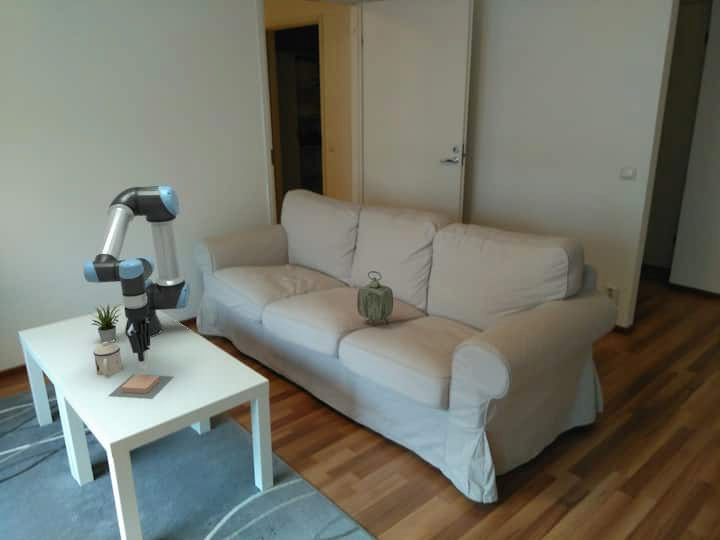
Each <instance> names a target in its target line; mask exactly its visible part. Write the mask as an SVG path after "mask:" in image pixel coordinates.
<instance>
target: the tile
mask: <svg viewBox="0 0 720 540" xmlns="http://www.w3.org/2000/svg"><path fill="white" fill-rule="evenodd" d="M147 375H148V374H135V376H133V377H132V378H131V379H130V380H129V381H128V382H127V383H125V384H124V385H123V386H122V387H121V388H122V392H126V393H143V394H147V393H148V392H149V391H150V390H151V389H152V388H153V387H154V386H155V385H156V384H157V383H158V382H159V381H160V380H159V376H160V375H154V376H147Z"/></svg>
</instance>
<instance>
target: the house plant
mask: <svg viewBox="0 0 720 540" xmlns="http://www.w3.org/2000/svg"><path fill="white" fill-rule="evenodd" d="M120 305H122V303H120V304H117V305H115V306H114V307H113V308H112V310H111V309H110V304H109V303H108V304H107V306H106V310H105V308H104V307H103V306H102V305H101V304H99V306H100V308H101V309H102V310H100V309H99V308H98V307H96V306H95V307H94V309H95V311H96V312H97V314H98V315H95V314H93V313H91V312H88V314H91V315H92V316H94V317H95V318H96V319H98V320H95V319H91V321H93V322H94V323H93V322H92V323H91V324H90V326H91V325H93V326H97V327H98V328H97V332H98V335H99V337H100V340H101V343H102V342H111V341H113V340H115V339H117V338H116V333H117V326H116V325H117V323H119V319H117V318H119V316H120V315H122V314H121V313H120V314H118V315H116V314H117V312H119V311H121V308H119V309H117V310H116V308H118V307H119V306H120ZM110 310H111V311H110ZM102 311H103V313H102ZM115 341H116V340H115Z"/></svg>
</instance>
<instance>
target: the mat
mask: <svg viewBox="0 0 720 540" xmlns="http://www.w3.org/2000/svg"><path fill="white" fill-rule="evenodd" d="M135 375H136V374H135V373H134V374H132V375H131V376H130V377H128V378H127V379H126V380H125V381H123V382H122V383H121V384H120V385H119V386H118V387H117V388H116V389H114V390H113V391H112V392H111V393H109V395H108V397H112V398H113V397H114V398H116V397H117V398H132V399H147V400H149V399H150V400H153V399H154V398H155V397H156V396H157V394H159V393H160V392H161V391H162V390H163V389H164V388H165V387H167V385H168V384H169V383H170V382H171V380H173V378H174V377H175V376H169V375H168V376H167V375H158V376H159V380H160V381H159V382H158V383H157V384H156V385H155V386H154V387H153V388H152V389H151V390H150V391H149V392H148V393H147V394H143V393H126V392H122V388H121V387H122V386H123V385H124V384H125V383H127V382H128V381H129V380H130V379H131V378H132V377H133V376H135ZM146 375H147V376H155V375H152V374H151V375H150V374H146Z"/></svg>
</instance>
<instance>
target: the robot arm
mask: <svg viewBox="0 0 720 540" xmlns="http://www.w3.org/2000/svg"><path fill="white" fill-rule="evenodd" d="M177 215H180V202H179V198H178V195H177V193H176V191H175V189H174V188H173V187H171V186H163V185H153V186H152V185H151V186H131V187H129V188H126V189H124V190H122V191H121V192H120V193H118V194H117V196H115V197H114V198H113V200H112V201H111V203H110V205H109V207H108V210H107V216H108V219H107V221H106V225H105V227H104V231H103V233H102V236H101V237H102V238H101V240H100V244H99V246H98V249H97V252H96V256H95V258H94V260H90V261H86V262H85V263H84V265H83V269H82V270H83V272H82V273H83V276H84V278H85V281H86V282H87V283H96V284H97V283H98V284H99V283H113V282H120V285H121V293H122V302H123V306H124V314H125V316H124V317H125V318H126V319H127V320H126V324H125V325H126V326H125V329H124V332H125V336H126V335H127V336H128V337H127V336H126V337H127V338H128V341H129V344H130V347H131V350H132V353H133V354H137V360H138V366H139V369H140V370H149V368H150V364H149V356H148V351H149V350H150V349H151V347H150V346H151V337H150V336H153V335H155V336H157V335H156V334H158V333H159V332H160V331H161V330H162V331H163V325H162V323H161V321H160V319H159V317H158V315H157V310H158V311H160V310H162V311H163V310H178V309H185V308H186V307H187V306H188V304H189V301H190V290H191V289H190V286H191V285H190V282H189V281H186V280H185V276H183V275H182V274H181V273H180V264H179V256H178V251H177V250H178V249H177V243H176V242H177V241H176V236H175V229H174V221H175V220H176V219H177ZM142 216H143V217H145V221H146V223H149V224H150V227H151V232H152V241H153V246H154V253H155V259H156V267H157V272H158V278H157V279H156V280H155V283H154V281H153V279H150V277H151V276H152V275H153V273H154V271H155V265H154V262H153V260H152V259H150V258H149V257H146V256H139V257H137V258H135V259H134V258H133V259H121V260H119V259H120V256H121V252H122V249H123V245H124V242H125V239H126V236H127V232H128V229H129V226H130V223H131V222H132V221H133V220H134V219H135V218H136V217H142ZM148 278H149V279H148ZM159 334H160V333H159ZM159 334H158V335H159ZM153 337H154V336H153Z"/></svg>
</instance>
